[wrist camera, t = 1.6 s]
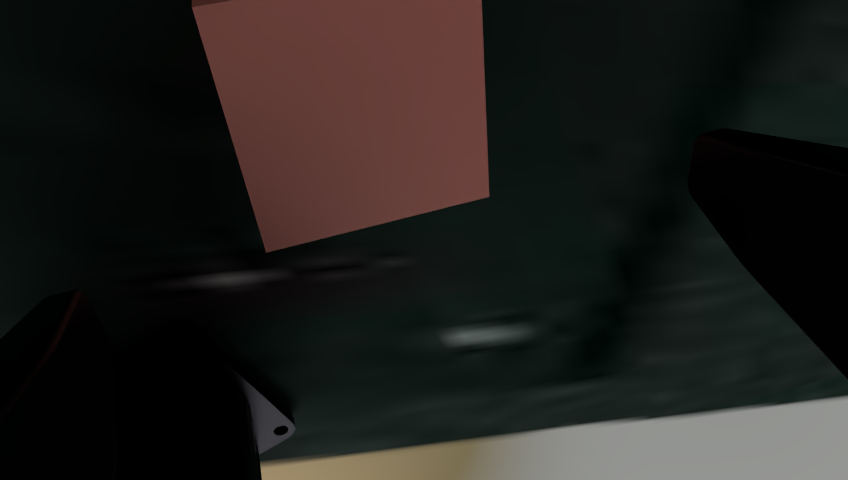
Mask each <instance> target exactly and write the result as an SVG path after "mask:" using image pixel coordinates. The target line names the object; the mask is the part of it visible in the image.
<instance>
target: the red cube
mask: <svg viewBox="0 0 848 480" xmlns="http://www.w3.org/2000/svg"><path fill="white" fill-rule="evenodd" d="M192 9H193V12H194V16H195V19H196V22H197V26H198V29H199V32H200V36H201V39H202V42H203V45H204V49H205V52H206V55H207V59H208V62H209V65H210V69H211V72H212V75H213V78H214V82H215V85H216V88H217V92H218V95H219V98H220V102H221V105H222V108H223V111H224V115H225V118H226V121H227V125H228V128H229V131H230V135H231V138H232V141H233V144H234V148H235V151H236V154H237V158H238V161H239V164H240V168H241V171H242V174H243V177H244V181H245V184H246V187H247V191H248V194H249V197H250V201H251V204H252V207H253V210H254V214H255V217H256V220H257V224H258V227H259V230H260V234H261V237H262V240H263V243H264V247H265V250H266V253H267V252H271V251H275V250H279V249H283V248H287V247H291V246H295V245H299V244H303V243H307V242H311V241H315V240H319V239H323V238H327V237H331V236H335V235H339V234H343V233H347V232H351V231H355V230H359V229H362V228H366V227H370V226H374V225H378V224H382V223H386V222H390V221H394V220H398V219H402V218H406V217H410V216H414V215H418V214H422V213H426V212H430V211H434V210H438V209H442V208H446V207H450V206H454V205H458V204H462V203H466V202H470V201H474V200H478V199H482V198H486V197H489V178H488V152H487V126H486V100H485V74H484V48H483V22H482V0H192Z"/></svg>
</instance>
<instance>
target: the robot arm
mask: <svg viewBox="0 0 848 480" xmlns="http://www.w3.org/2000/svg"><path fill="white" fill-rule="evenodd" d="M688 189H689V192H690V195H691V196H692V198H693V199H694V201H695V202H696V203H697V205H698V206H699V207H700V209H701V210H702V211H703V213H704V214H705V215H706V217H707V218H708V220H709V221H710V222H711V224H712V225H713V226H714V228H715V229H716V230H717V232H718V233H719V234H720V236H721V237H722V238H723V240H724V241H725V242H726V244H727V245H728V246H729V248H730V249H731V250H732V252H733V253H734V255H735V256H736V257H737V258H738V260H739V261H740V262H741V263H742V265H743V266H744V267H745V268H746V269H747V271H748V272H749V273H750V274H751V275H752V276H753V277H754V279H755V280H756V281H757V282H758V283H759V284H760V285H761V286H762V287H763V288H764V289H765V291H766V292H767V293H768V294H769V295H770V296H771V297H772V298H773V299H774V300H775V301H776V302H777V304H778V305H779V306H780V307H781V308H782V309H783V310H784V311H785V312H786V313H787V314H788V316H789V317H790V318H791V319H792V320H793V321H794V322H795V323H796V324H797V325H798V326H799V328H800V329H801V330H802V331H803V332H804V333H805V334H806V335H807V336H808V337H809V338H810V340H811V341H812V342H813V343H814V344H815V345H816V346H817V347H818V348H819V349H820V350H821V351H822V353H823V354H824V355H825V356H826V357H827V358H828V359H829V360H830V361H831V362H832V363H833V365H834V366H835V367H836V368H837V369H838V370H839V371H840V372H841V373H842V374H843V375H844V377H845V378H846V379H847V380H848V148H844V147H838V146H832V145H826V144H820V143H813V142H807V141H801V140H795V139H789V138H783V137H776V136H770V135H764V134H758V133H752V132H745V131H739V130H733V129H726V128H724V129H718V130H714V131H710V132H706V133H703V134H701V135H699V136H698V137H697V139H696V140H695V142H694V146H693V152H692V158H691V164H690V169H689V175H688ZM178 335H184V336H186V338H184V339H175V338H174V337H175V336H178ZM278 426H281V427H278ZM294 431H295V423H294V418H293V416H292V415H291V414H290V413H289V412H288V411H287V410H286V409H285V408H284V407H282V406H281V405H280V404H279V403H278V402H277V401H276V400H275V399H274V398H273V397H272V396H271V395H269V394H268V393H267V392H266V391H265V390H264V389H263V388H262V387H261V386H260V385H259V384H258V383H257V382H255V381H254V380H253V379H252V378H251V377H250V376H249V375H248V374H247V373H246V372H245V371H244V370H242V369H241V368H240V367H239V366H238V365H237V364H236V363H235V362H234V361H233V360H232V359H231V358H230V357H228V356H227V355H226V354H225V353H224V352H223V351H222V350H221V349H220V348H219V347H218V346H217V345H215V344H214V343H213V342H212V341H211V340H210V339H209V338H208V337H207V336H206V335H205V334H204V333H203V332H201V331H200V330H199V329H198V328H197V327H196V326H195V325H194V324H192V323H190V322H188V321H183V320H180V321H174V322H172V323H169V324H167V325H166V326H164V327H162V328H161V329H159V330H157V331H156V332H154V333H152V334H151V335H149V336H147V337H146V338H144V339H142V340H140V341H139V342H137V343H135V344H134V345H132V346H130V347H129V348H127V349H125V350H124V351H122V352H120V353H118V354H114V355H113V351H112V345H111V341H110V339H109V336H108V334H107V332H106V330H105V328H104V326H103V325H102V323H101V321H100V319H99V317H98V315H97V313H96V312H95V310H94V308H93V306H92V304H91V302H90V300H89V299H88V297H87V296H86V295H85V293H83V292H82V291H80V290H72V291H68V292H64V293H60V294H56V295H52V296H48V297H46V298H44V299H43V300H42V301H41V302H40V303H39V304H38V305H37V306H36V307H34V308H33V309H32V310H31V311H30V312H29V313H28V314H27V315H26V316H25V317H24V318H23V319H22V320H21V321H19V322H18V323H17V324H16V325H15V326H14V327H13V328H12V329H11V330H10V331H9V332H8V333H7V334H6V335H4V336H3V337H2V338H1V339H0V480H262V478H261V469H260V459H259V454H261V453H263V452H265V451H266V450H268V449H270V448H271V447H273V446H275V445H277V444H278V443H280V442H282V441H283V440H285V439H287V438H289V437H290V436H291V435H292V434H293V433H294Z"/></svg>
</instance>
